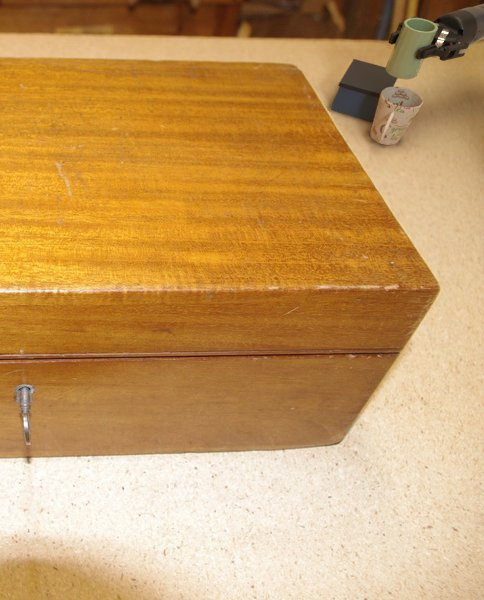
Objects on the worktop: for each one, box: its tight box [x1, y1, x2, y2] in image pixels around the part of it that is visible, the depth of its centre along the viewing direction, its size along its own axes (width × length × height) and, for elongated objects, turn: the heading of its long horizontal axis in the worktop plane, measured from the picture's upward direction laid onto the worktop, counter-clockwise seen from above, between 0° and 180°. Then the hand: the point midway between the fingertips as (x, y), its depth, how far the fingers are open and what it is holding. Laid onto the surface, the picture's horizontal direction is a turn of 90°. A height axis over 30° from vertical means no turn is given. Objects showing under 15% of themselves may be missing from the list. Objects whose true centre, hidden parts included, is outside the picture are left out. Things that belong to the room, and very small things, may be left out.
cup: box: [385, 17, 438, 80], centre depth 142 cm, size 6×6×10 cm
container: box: [331, 58, 398, 123], centre depth 161 cm, size 11×13×7 cm
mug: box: [369, 86, 424, 146], centre depth 149 cm, size 8×13×10 cm, turn 149°
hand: (404, 46), depth 141 cm, fingers closed on cup, 6 cm apart
